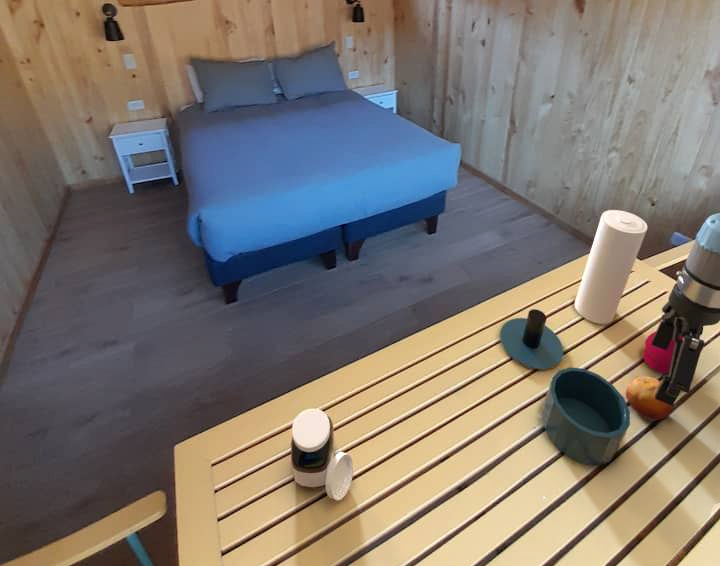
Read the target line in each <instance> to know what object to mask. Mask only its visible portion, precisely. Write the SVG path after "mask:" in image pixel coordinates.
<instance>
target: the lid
mask: <svg viewBox="0 0 720 566" xmlns="http://www.w3.org/2000/svg"><path fill="white" fill-rule="evenodd" d="M547 319H548V317H547V316H546V313H544V312H543V311H541V310H540V309H535V308H534V309H530V310H529V311H528V314H527V318H525V317H517V318H511V319H509V320H507V321H506V322H505V323H504V324H503V325H502V326H501V328H500V331H499V339H500V340H499V341H500V344H501V346H502V348H503V350H504V351H505V352H506V354H507V355H508V356H509V357H510V358H511V359H512V360H513V361H515V362H516V363H518V364H520V365H522V366H523V367H526V368H529V369H532V370H538V371H546V370H547V371H548V370H551V369H554V368H555V367H557V366H558V365H560V363H561V362H562V359H563V356H564V347H563V344H562V342H561V340H560V338H559V336H557V335H556V333H555V332H554V331H553V330H552V329H551V328H550V327H548V326H546V323H547Z"/></svg>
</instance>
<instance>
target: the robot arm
mask: <svg viewBox="0 0 720 566" xmlns="http://www.w3.org/2000/svg"><path fill="white" fill-rule="evenodd" d="M675 275H676V276H677V280H676V283H674V285H673V287H672V289H671V292H670V294H669V295H668V301H667V302H666V303H665V304H664V305H663V307H662V308H661V311H662V313H663V314H662V315H661V321H660V322H659V325H658V327H657V328H656V331H655V332H656V333H655V335H654V337H653V339H652V342H651V345H653V346H656V347H659V348H661V349H664V350H667V348H668V346H669V344H670V342H671V341H672V339H673V341H674V342H675V346H674V351H673V356H672V361H671V366H670V371H669V373H665V374H663V375H662V378H663V379H662V380H661V382H662V383H661V385H660V386H659V388H658V390H657V392H656V394H655V399H657V400H659V401H662V402H664V403H666V404H669V405H671V406H673V404H674V405H675V403H676V401H677V399H678V397H679V395H680V393H681V392H683V393H685V394H689V393H690V391H691V387H692V384H693V380H694V377H695V374H696V370H697V367H698V363H699V360H700V357H701V353H702V351H703V349H704V347H705V345H706V342H705V340H703V339H700V338H701V336H702V335H703V332H704V327H707V326H715V325H717V324H718V323H720V212H719V213H714V214H712V215H710V216H708V217H707V218H706V220H705V221H704V222H703V223H702V226H701V227H700V229H699V231H698V232H697V234H696V236H695V240H694V243H693V244H692V247H691V248H690V251H689V254H688V255H687V258H686V260H685V262H684V265H683V267H682V270H681V271H680V270H677V271H676V273H675ZM664 313H665V314H664ZM662 320H663V322H662ZM673 324H674V325H673ZM679 336H680V337H683V340H681V339H679Z"/></svg>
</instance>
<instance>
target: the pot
mask: <svg viewBox="0 0 720 566" xmlns="http://www.w3.org/2000/svg"><path fill="white" fill-rule="evenodd" d="M541 420H542V425H543V427H544V431H545V432H546V434H547V436H548V438H549V439H550V441H551V442H552V443H553V444H554V446H555V447H556V448H557V449H558V450H559V451H560V452H561V453H563V454H564V455H565V456H566V457H568V458H570V459H571V460H572V461H575V462H577V463H579V464H583V465H586V466H593V467H596V466H597V467H598V466H603V465H606V464H608V463H609V462H611V461H612V459H613V458H614V456H615V455H616V454H617V452H618V450H619V448H620V446H621V444H622V442H623V439H624V438H625V436H626V433H627V432H628V430H629V428H630V426H631V411H630V409H629V406H628V404H627V402H626V399H625V397H624V396H623V395H622V394H621V392H620V391H619V390H618V389H617V388H616V387H615V385H613V384H612V383H611V382H610V381H609V380H607V379H605V378H604V377H603V376H601V375H600V374H598V373H596V372H593V371H591V370H589V369H586V368H582V367H581V368H580V367H571V366H570V367H566V368H561V369H559V370H557V372H555V374H554V375H553V376H552V377H551V380H550V383H549V386H548V390H547V392H546V396H545V399H544V403H543V407H542V411H541Z"/></svg>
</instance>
